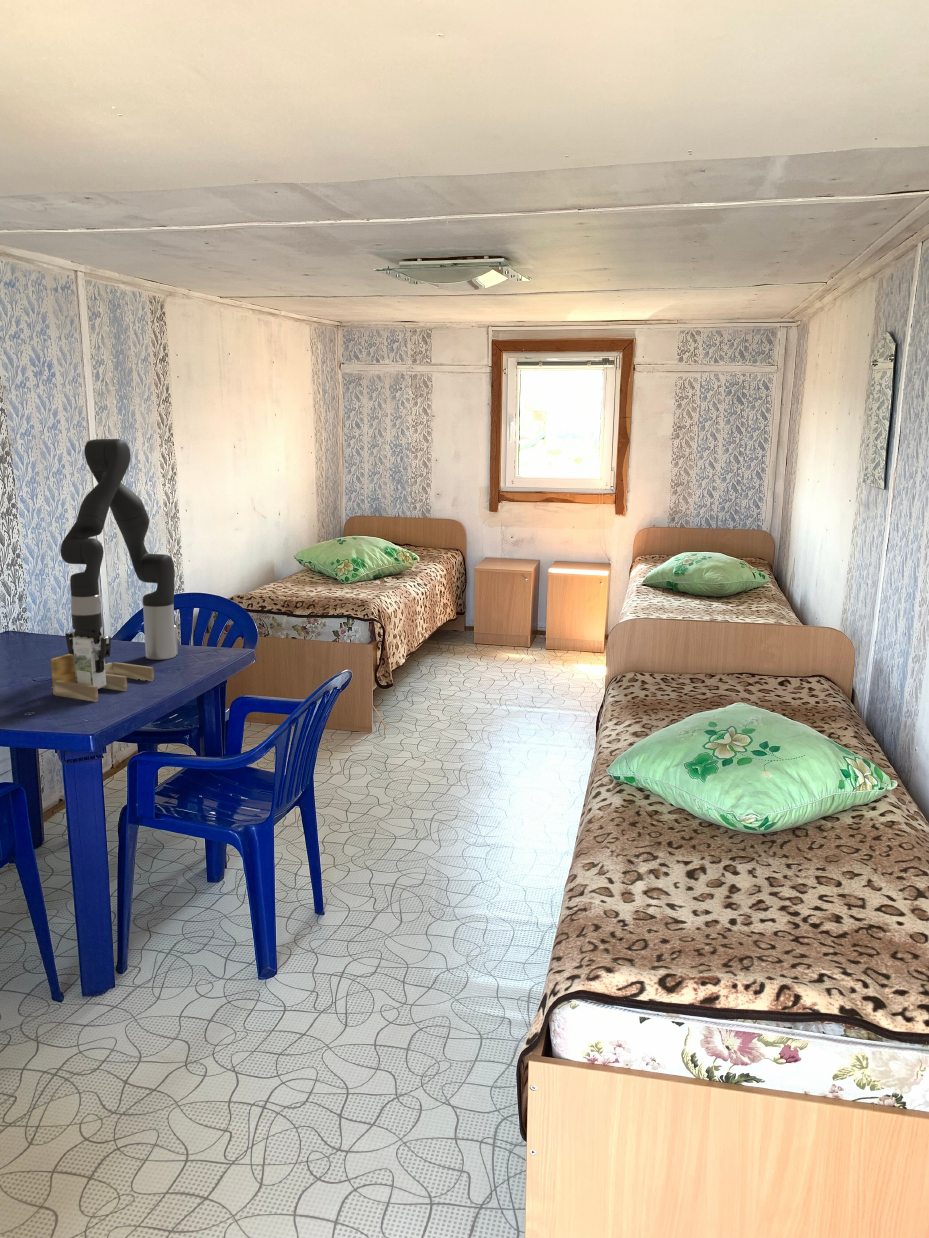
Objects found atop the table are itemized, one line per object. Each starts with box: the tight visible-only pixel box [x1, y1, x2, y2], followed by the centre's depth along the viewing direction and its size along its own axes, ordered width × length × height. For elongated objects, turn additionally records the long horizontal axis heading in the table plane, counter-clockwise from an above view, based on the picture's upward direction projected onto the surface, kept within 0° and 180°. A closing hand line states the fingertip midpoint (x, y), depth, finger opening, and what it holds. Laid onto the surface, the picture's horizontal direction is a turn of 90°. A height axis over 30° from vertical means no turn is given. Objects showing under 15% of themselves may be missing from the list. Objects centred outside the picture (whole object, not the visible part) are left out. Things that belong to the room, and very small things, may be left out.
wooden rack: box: [50, 653, 155, 703], centre depth 249 cm, size 23×15×10 cm, turn 159°
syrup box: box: [72, 636, 106, 689], centre depth 243 cm, size 6×6×14 cm
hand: (90, 670), depth 244 cm, fingers closed on syrup box, 6 cm apart
